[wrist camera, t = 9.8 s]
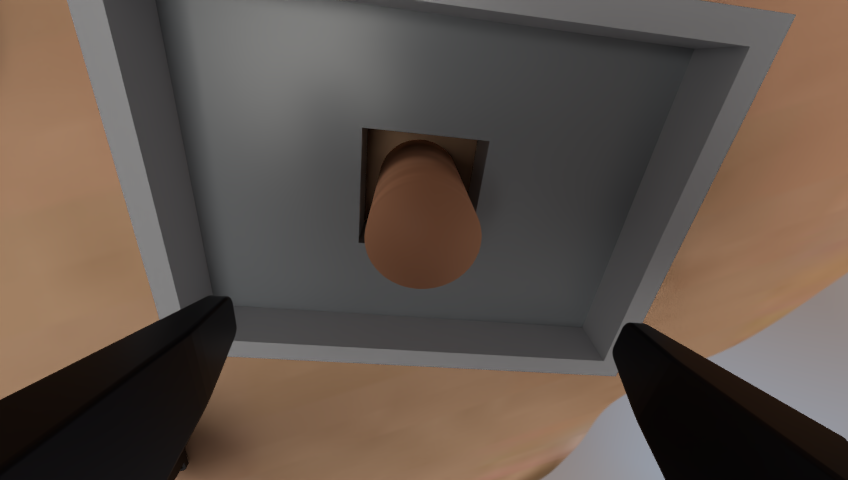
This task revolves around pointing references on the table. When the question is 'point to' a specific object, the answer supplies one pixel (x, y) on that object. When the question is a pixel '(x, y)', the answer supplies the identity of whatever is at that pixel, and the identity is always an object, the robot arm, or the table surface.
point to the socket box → (433, 115)
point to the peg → (421, 218)
